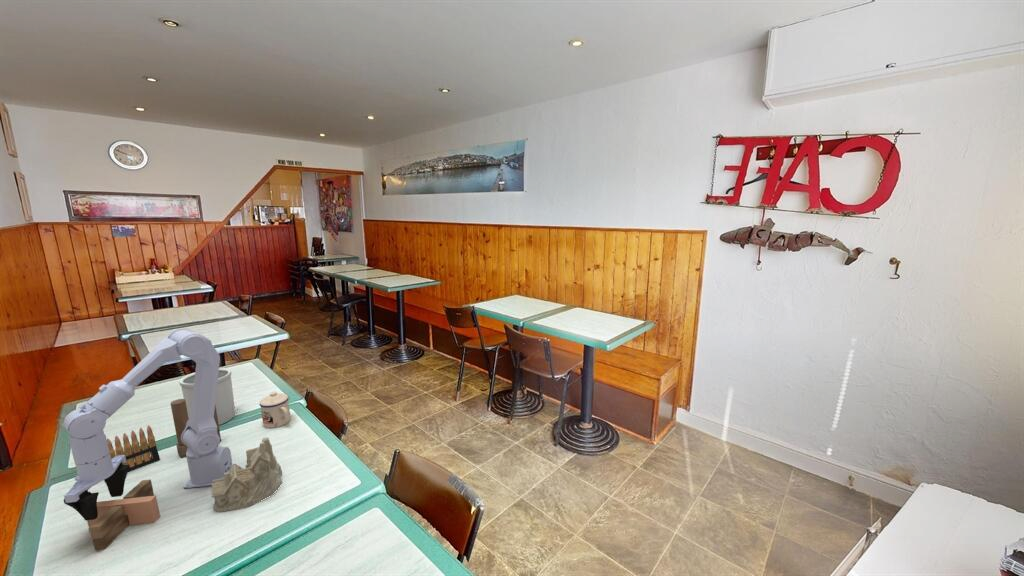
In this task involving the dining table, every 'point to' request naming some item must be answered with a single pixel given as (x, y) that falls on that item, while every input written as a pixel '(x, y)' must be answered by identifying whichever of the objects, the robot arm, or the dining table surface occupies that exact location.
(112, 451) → the ammunition clip
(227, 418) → the utensil holder
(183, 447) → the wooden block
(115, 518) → the slotted base plate
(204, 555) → the dining table surface
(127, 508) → the cross plate
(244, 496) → the ceramic cottage
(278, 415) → the teacup with lid
